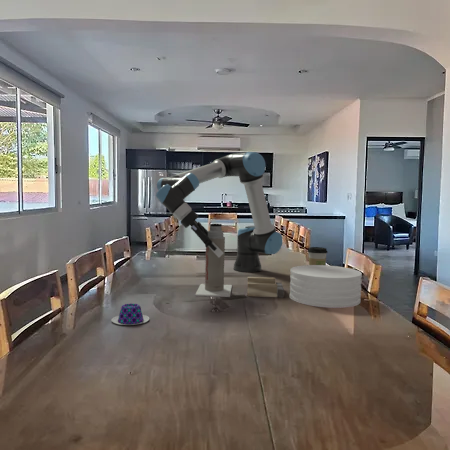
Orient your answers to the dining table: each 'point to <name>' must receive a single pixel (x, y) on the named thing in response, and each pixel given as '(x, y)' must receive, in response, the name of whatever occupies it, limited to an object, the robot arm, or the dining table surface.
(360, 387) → the dining table surface
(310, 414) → the dining table surface
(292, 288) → the plate stack
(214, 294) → the grey mat
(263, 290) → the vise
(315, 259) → the coffee cup
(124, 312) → the pudding
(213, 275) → the thermos bottle
